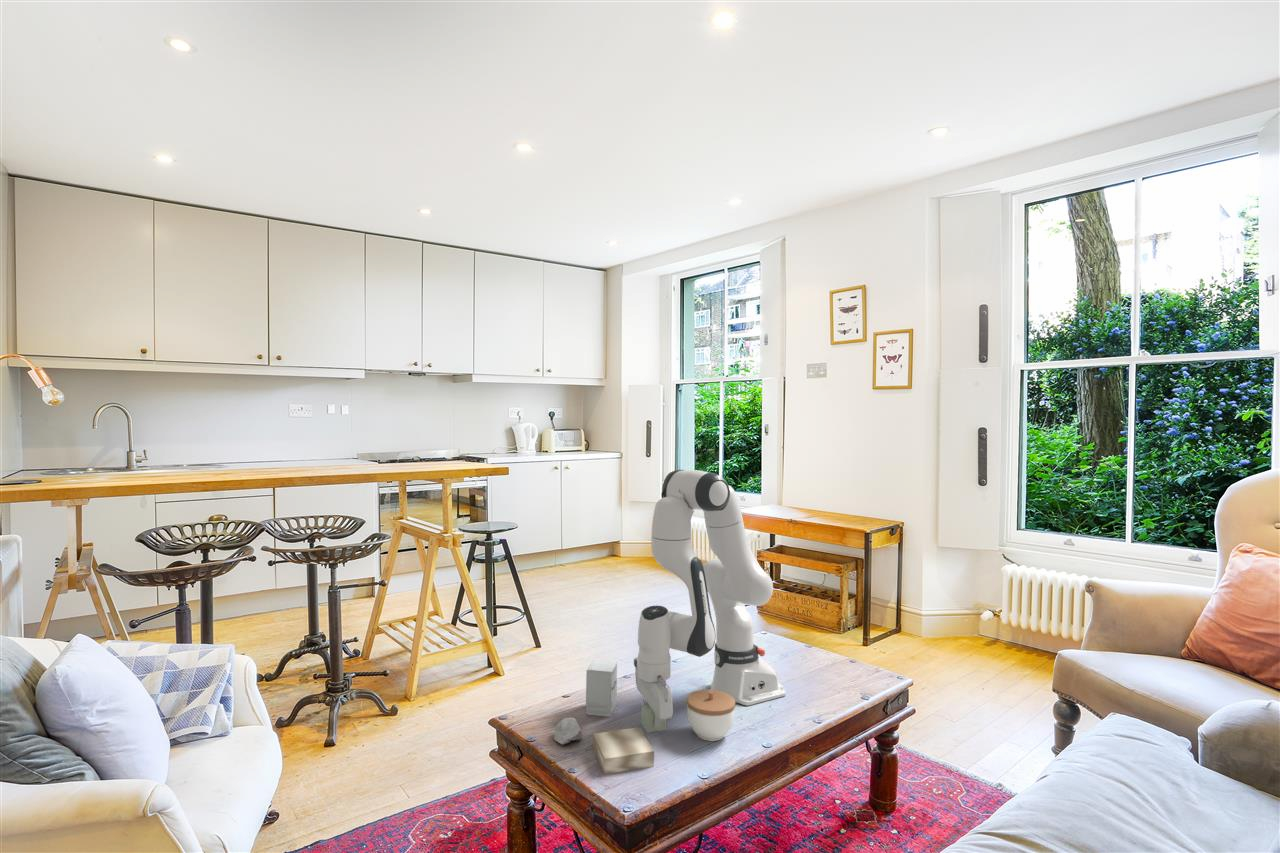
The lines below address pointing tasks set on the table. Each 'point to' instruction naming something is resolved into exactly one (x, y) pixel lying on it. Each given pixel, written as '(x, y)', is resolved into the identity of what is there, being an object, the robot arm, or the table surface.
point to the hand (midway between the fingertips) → (653, 720)
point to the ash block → (623, 750)
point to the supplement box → (601, 688)
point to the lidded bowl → (710, 713)
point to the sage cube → (650, 719)
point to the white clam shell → (567, 731)
